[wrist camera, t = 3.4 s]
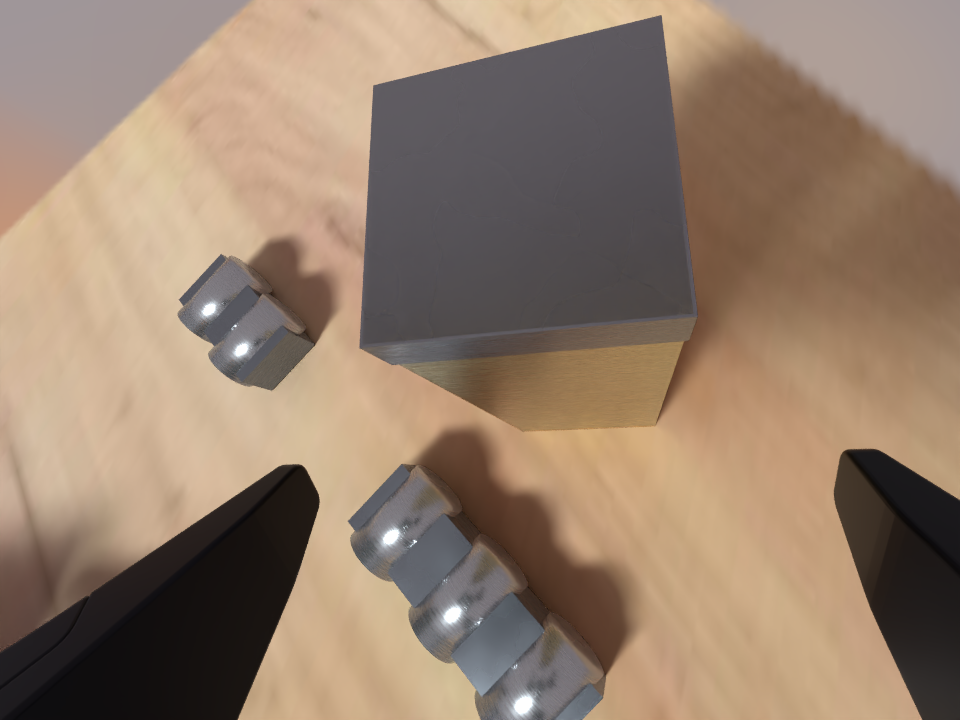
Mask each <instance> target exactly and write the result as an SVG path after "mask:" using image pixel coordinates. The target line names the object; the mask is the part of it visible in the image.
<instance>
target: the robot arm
mask: <svg viewBox="0 0 960 720" xmlns="http://www.w3.org/2000/svg"><path fill="white" fill-rule="evenodd" d="M834 500H835V505H836V509H837V512H838V515H839V518H840V521H841V523H842V526H843V529H844V532H845V535H846V538H847V541H848V544H849V547H850V550H851V553H852V556H853V559H854V562H855V565H856V568H857V571H858V574H859V577H860V580H861V583H862V586H863V589H864V592H865V595H866V598H867V600H868V603H869V606H870V608H871V611H872V613H873V615H874V617H875V620H876V622H877V624H878V626H879V629H880V631H881V633H882V635H883V637H884V639H885V641H886V644H887V646H888V648H889V650H890V652H891V654H892V656H893V658H894V661H895V663H896V665H897V667H898V669H899V671H900V673H901V675H902V678H903V680H904V682H905V684H906V686H907V688H908V690H909V693H910V695H911V697H912V699H913V701H914V703H915V705H916V707H917V710H918V712H919V714H920V716H921V718H922V720H960V500H959V499H957V498H956V497H954V496H952V495H951V494H949V493H948V492H946V491H944V490H943V489H941V488H940V487H938V486H936V485H935V484H933V483H932V482H930V481H928V480H927V479H925V478H923V477H922V476H920V475H919V474H917V473H915V472H914V471H912V470H911V469H909V468H907V467H906V466H904V465H903V464H901V463H899V462H898V461H896V460H895V459H893V458H891V457H890V456H888V455H887V454H885V453H883V452H881V451H879V450H877V449H848V450H845V451H844V452H843V453H842V454H841V456H840V460H839V466H838V471H837V477H836V482H835V487H834ZM319 503H320V501H319V494H318V492H317V490H316V488H315V486H314V484H313V482H312V480H311V478H310V476H309V474H308V472H307V470H306V469H305V467H303V466H302V465H299V464H292V465H281V466H279V467H277V468H276V469H275V470H273V471H272V472H270V473H269V474H267V475H266V476H264V477H263V478H261V479H260V480H258V481H257V482H255V483H254V484H252V485H251V486H249V487H248V488H246V489H245V490H243V491H242V492H240V493H239V494H237V495H236V496H234V497H233V498H231V499H230V500H229V501H227V502H226V503H224V504H223V505H221V506H220V507H218V508H217V509H215V510H214V511H212V512H211V513H209V514H208V515H206V516H205V517H203V518H202V519H200V520H199V521H197V522H196V523H194V524H193V525H191V526H190V527H188V528H187V529H185V530H184V531H183V532H181V533H180V534H178V535H177V536H175V537H174V538H172V539H171V540H169V541H168V542H166V543H165V544H163V545H162V546H160V547H159V548H157V549H156V550H154V551H153V552H151V553H150V554H148V555H147V556H145V557H144V558H142V559H141V560H140V561H138V562H137V563H135V564H134V565H132V566H131V567H129V568H128V569H126V570H125V571H123V572H122V573H120V574H119V575H117V576H116V577H114V578H113V579H111V580H110V581H108V582H107V583H105V584H104V585H102V586H101V587H99V588H98V589H96V590H95V591H94V592H92V593H91V595H90V596H86V597H84V598H83V599H81V600H80V601H78V602H77V603H75V604H74V605H73V606H71V607H70V608H68V609H67V610H65V611H64V612H62V613H61V614H59V615H58V616H56V617H55V618H53V619H52V620H50V621H48V622H47V623H45V624H44V625H42V626H41V627H39V628H38V629H36V630H35V631H33V632H32V633H30V634H29V635H27V636H26V637H24V638H22V639H21V640H19V641H18V642H16V643H14V644H13V645H11V646H10V647H8V648H6V649H5V650H3V651H2V652H0V720H238V718H239V715H240V713H241V711H242V708H243V706H244V703H245V701H246V699H247V696H248V694H249V691H250V689H251V687H252V684H253V682H254V680H255V677H256V675H257V672H258V670H259V668H260V665H261V663H262V661H263V658H264V656H265V653H266V651H267V649H268V646H269V644H270V642H271V639H272V637H273V634H274V632H275V630H276V627H277V625H278V623H279V620H280V618H281V615H282V613H283V611H284V608H285V606H286V604H287V601H288V599H289V596H290V594H291V591H292V589H293V586H294V584H295V581H296V578H297V575H298V572H299V569H300V566H301V563H302V560H303V557H304V554H305V550H306V547H307V544H308V541H309V538H310V534H311V531H312V528H313V525H314V522H315V518H316V515H317V512H318V509H319Z"/></svg>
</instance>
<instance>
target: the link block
mask: <svg viewBox="0 0 960 720" xmlns="http://www.w3.org/2000/svg"><path fill="white" fill-rule="evenodd" d="M697 318H698V313H697V305H696V297H695V288H694V280H693V272H692V264H691V255H690V247H689V239H688V231H687V222H686V214H685V206H684V198H683V189H682V181H681V173H680V165H679V156H678V148H677V140H676V131H675V123H674V115H673V107H672V98H671V90H670V82H669V74H668V65H667V57H666V49H665V41H664V32H663V24H662V16H661V15H660V16H656V17H652V18H648V19H644V20H640V21H636V22H632V23H628V24H624V25H619V26H615V27H611V28H607V29H603V30H599V31H595V32H591V33H587V34H583V35H578V36H574V37H570V38H566V39H562V40H558V41H554V42H550V43H546V44H542V45H537V46H533V47H529V48H525V49H521V50H517V51H513V52H509V53H505V54H501V55H496V56H492V57H488V58H484V59H480V60H476V61H472V62H468V63H464V64H460V65H455V66H451V67H447V68H443V69H439V70H435V71H431V72H427V73H423V74H419V75H414V76H410V77H406V78H402V79H398V80H394V81H390V82H386V83H382V84H378V85H373V103H372V122H371V141H370V160H369V179H368V198H367V216H366V235H365V254H364V273H363V292H362V311H361V330H360V349H362V350H364V351H366V352H368V353H370V354H372V355H374V356H376V357H378V358H380V359H381V360H383V361H385V362H387V363H389V364H391V365H398V364H399V365H401V366H403V367H404V368H406V369H408V370H410V371H412V372H414V373H416V374H417V375H419V376H421V377H423V378H425V379H427V380H429V381H430V382H432V383H434V384H436V385H438V386H440V387H441V388H443V389H445V390H447V391H449V392H451V393H453V394H454V395H456V396H458V397H460V398H462V399H464V400H466V401H467V402H469V403H471V404H473V405H475V406H477V407H478V408H480V409H482V410H484V411H486V412H488V413H490V414H491V415H493V416H495V417H497V418H499V419H501V420H503V421H504V422H506V423H508V424H510V425H512V426H514V427H516V428H517V429H519V430H521V431H548V430H572V429H597V428H622V427H647V426H655V424H656V421H657V418H658V416H659V413H660V410H661V407H662V404H663V401H664V398H665V395H666V392H667V389H668V386H669V384H670V381H671V378H672V375H673V372H674V369H675V366H676V363H677V360H678V357H679V354H680V352H681V349H682V346H683V343H684V341H689V339H690V336H691V334H692V331H693V328H694V326H695V323H696V320H697Z"/></svg>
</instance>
